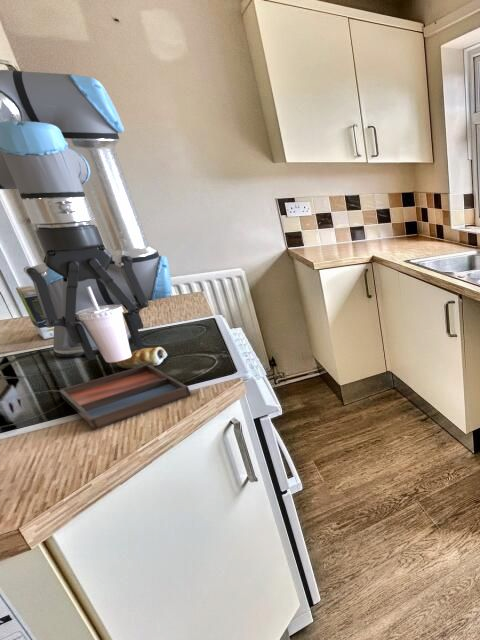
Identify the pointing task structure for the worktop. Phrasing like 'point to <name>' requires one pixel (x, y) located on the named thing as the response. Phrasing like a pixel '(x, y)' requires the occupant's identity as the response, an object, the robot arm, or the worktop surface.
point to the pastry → (144, 358)
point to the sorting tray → (123, 395)
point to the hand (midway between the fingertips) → (116, 351)
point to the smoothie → (106, 329)
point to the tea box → (35, 311)
